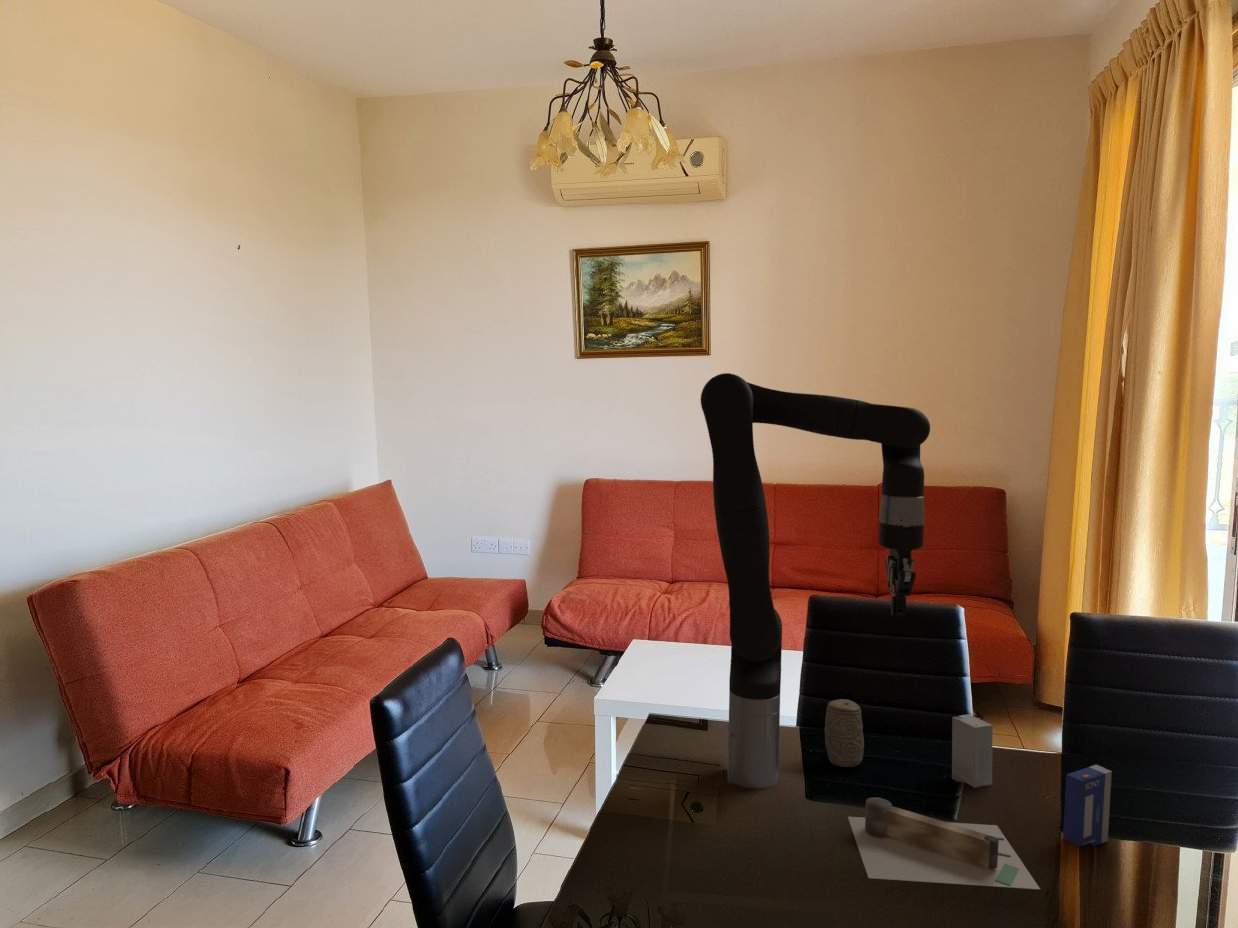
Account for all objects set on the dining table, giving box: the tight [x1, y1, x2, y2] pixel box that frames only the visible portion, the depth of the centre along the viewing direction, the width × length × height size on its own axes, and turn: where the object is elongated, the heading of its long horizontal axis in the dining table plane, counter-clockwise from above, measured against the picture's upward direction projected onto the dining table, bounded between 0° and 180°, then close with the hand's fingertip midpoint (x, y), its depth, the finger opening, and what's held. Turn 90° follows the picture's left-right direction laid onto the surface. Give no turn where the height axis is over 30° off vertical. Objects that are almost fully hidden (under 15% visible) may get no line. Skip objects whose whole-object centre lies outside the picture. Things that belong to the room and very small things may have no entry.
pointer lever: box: [864, 797, 999, 869], centre depth 130 cm, size 20×4×4 cm, turn 53°
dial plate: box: [847, 816, 1041, 891], centre depth 130 cm, size 24×18×1 cm
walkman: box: [1062, 764, 1113, 848], centre depth 134 cm, size 8×3×12 cm, turn 118°
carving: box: [824, 698, 865, 768], centre depth 162 cm, size 6×8×12 cm
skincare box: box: [951, 713, 994, 789], centre depth 154 cm, size 6×4×12 cm
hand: (898, 616), depth 149 cm, fingers closed
